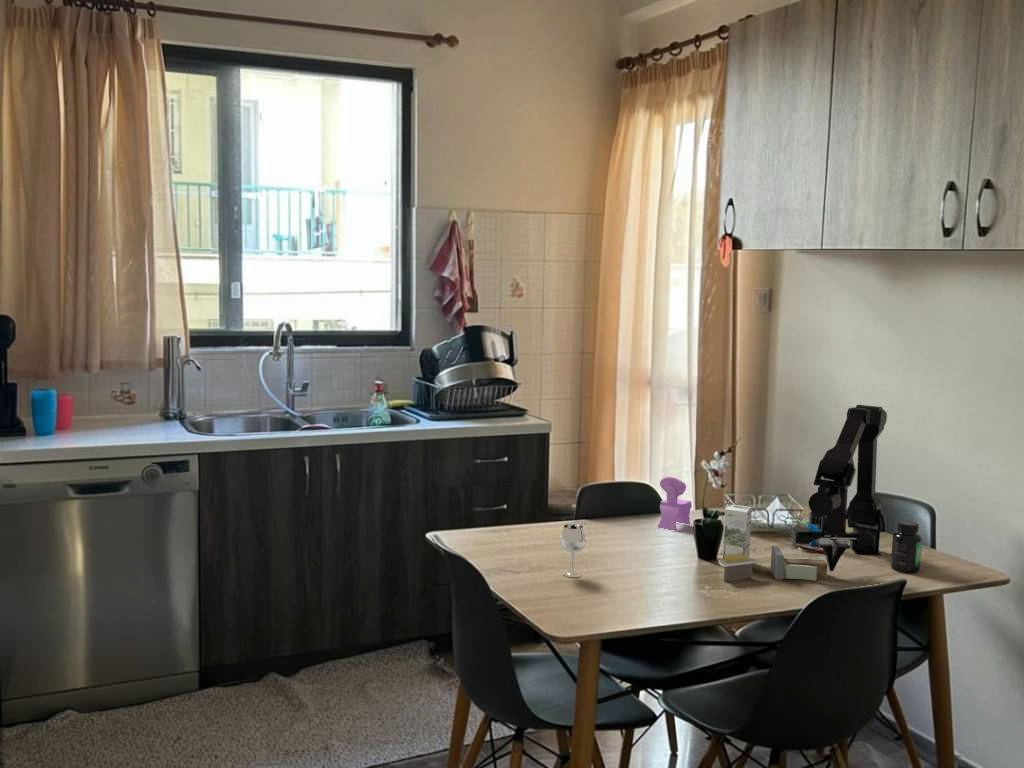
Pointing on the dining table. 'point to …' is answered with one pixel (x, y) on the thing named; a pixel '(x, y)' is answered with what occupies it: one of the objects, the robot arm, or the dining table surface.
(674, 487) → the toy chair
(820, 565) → the brown rectangular block
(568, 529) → the wineglass
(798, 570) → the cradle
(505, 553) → the dining table surface
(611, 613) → the dining table surface
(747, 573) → the platform
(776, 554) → the wall
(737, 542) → the syrup box
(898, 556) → the supplement bottle
